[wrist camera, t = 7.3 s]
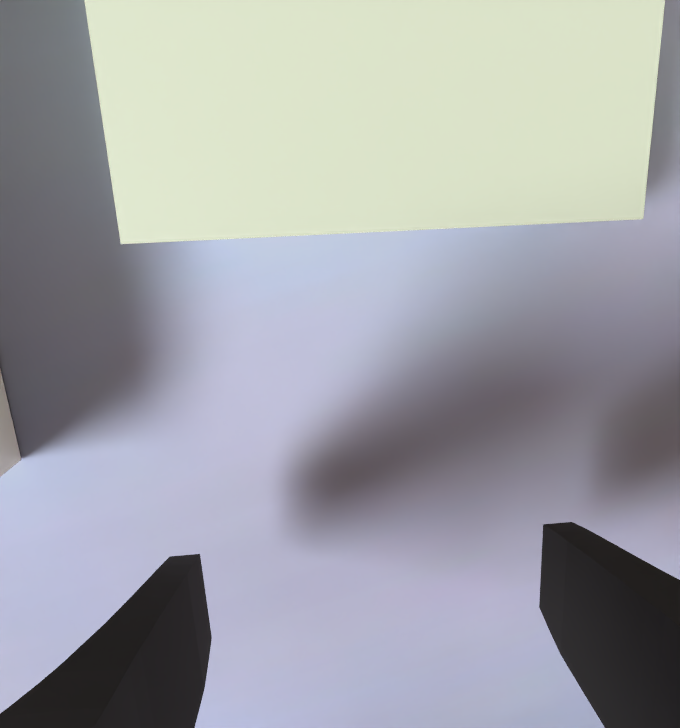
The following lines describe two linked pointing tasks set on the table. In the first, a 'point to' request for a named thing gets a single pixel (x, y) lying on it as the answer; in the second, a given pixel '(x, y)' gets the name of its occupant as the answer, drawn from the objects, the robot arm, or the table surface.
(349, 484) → the table surface
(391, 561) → the table surface
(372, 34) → the green tile
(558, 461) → the table surface
